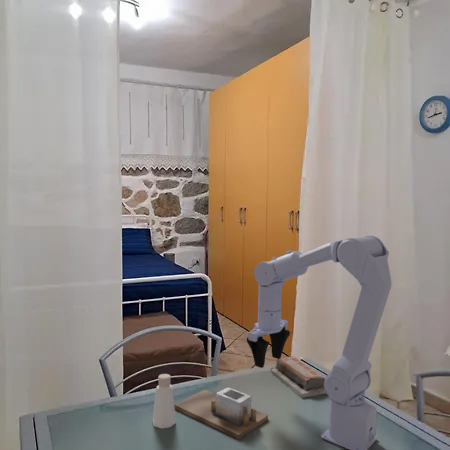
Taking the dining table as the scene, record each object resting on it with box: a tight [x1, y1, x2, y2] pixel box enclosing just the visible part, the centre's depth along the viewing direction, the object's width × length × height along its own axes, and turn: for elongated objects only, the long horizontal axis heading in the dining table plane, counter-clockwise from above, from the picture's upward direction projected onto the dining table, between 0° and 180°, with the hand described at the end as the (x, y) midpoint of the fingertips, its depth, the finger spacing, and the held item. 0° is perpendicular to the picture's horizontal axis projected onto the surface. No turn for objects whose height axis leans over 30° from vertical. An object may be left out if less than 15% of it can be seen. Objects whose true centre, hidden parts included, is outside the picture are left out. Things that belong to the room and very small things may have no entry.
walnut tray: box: [174, 389, 269, 440], centre depth 104 cm, size 20×11×4 cm, turn 50°
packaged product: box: [270, 355, 327, 399], centre depth 123 cm, size 18×5×10 cm
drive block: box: [215, 387, 252, 424], centre depth 102 cm, size 7×4×5 cm, turn 50°
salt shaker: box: [152, 373, 177, 429], centre depth 100 cm, size 5×5×11 cm
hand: (268, 362), depth 110 cm, fingers open, 7 cm apart
